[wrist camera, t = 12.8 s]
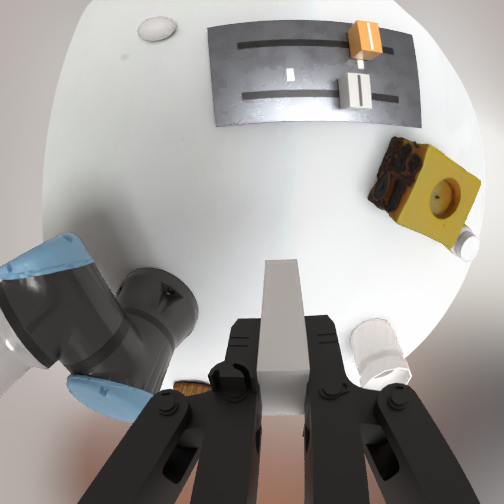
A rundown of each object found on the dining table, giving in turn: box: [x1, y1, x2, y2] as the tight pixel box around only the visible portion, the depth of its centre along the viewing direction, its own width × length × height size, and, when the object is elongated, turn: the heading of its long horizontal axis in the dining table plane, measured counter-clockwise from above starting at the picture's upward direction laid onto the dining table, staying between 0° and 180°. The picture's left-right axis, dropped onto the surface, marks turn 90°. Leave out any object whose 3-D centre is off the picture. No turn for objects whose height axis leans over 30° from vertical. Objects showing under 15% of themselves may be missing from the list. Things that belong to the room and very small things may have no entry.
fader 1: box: [347, 20, 383, 60], centre depth 22 cm, size 2×4×5 cm, turn 5°
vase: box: [350, 318, 412, 391], centre depth 41 cm, size 9×9×12 cm
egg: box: [137, 17, 176, 41], centre depth 24 cm, size 4×6×4 cm, turn 82°
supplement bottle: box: [443, 224, 480, 261], centre depth 32 cm, size 5×5×8 cm
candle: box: [368, 137, 481, 248], centre depth 29 cm, size 10×10×10 cm
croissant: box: [173, 382, 212, 396], centre depth 55 cm, size 14×7×5 cm, turn 86°
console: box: [207, 20, 421, 128], centre depth 27 cm, size 27×14×2 cm, turn 95°
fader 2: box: [338, 73, 372, 110], centre depth 25 cm, size 2×4×5 cm, turn 5°
